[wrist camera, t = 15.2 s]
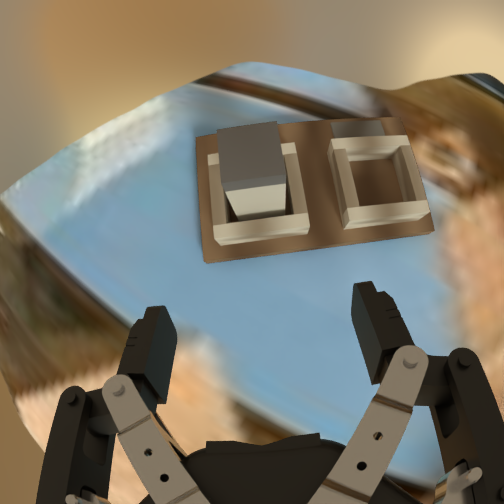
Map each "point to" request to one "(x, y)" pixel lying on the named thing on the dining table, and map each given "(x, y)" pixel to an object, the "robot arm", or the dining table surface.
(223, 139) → the plug
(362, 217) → the socket board
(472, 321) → the dining table surface
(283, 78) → the dining table surface
